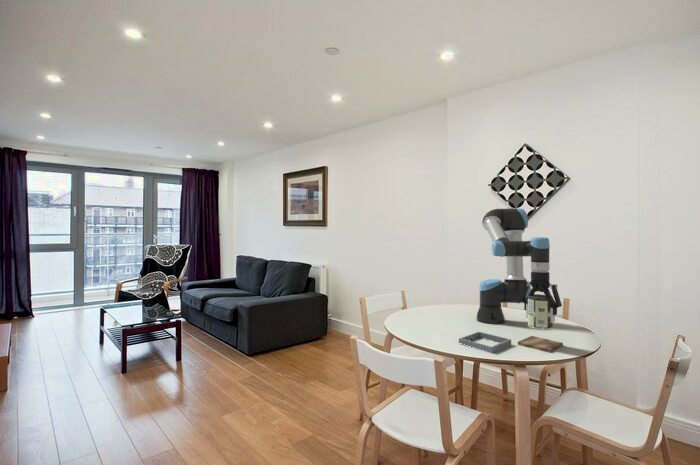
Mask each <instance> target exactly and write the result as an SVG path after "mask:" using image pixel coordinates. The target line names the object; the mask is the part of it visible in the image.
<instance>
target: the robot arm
mask: <svg viewBox="0 0 700 465" xmlns="http://www.w3.org/2000/svg"><path fill="white" fill-rule="evenodd" d="M481 222H482V227H483V228H484V230H485V231H487V233H488V234H489V237H490V239H491V241H492V243H491V254H492V255H493V256H494V257H501V258H502V257H506V277H504V278H503V280H504V281H502V280H501V279H499V278H497V279H494V278H492V279H491V278H490V279H486V280H482V281H480V283H479V289H478V290H479V308H478V311H477V314H476V321H478V322H480V323H484V324H494V325H500V324H504V323H506V322H505V320H506V318H505V315H504V311H503V309H502V304H504V303H505V304H507V303H509V304H523V306H524V307H523V308H524V311H526V312H525V318H526V319H528V295H530V296H532V295H534V294H536V292H540V293H543V295H546V297H547V298H553V299H551V300H550V304H551V305H552V308H551V323H553V324H554V323H555V322H556V316H557V315H558V308H561V307H562V306H563V304H562V302H561V298H560V295H559V291H558V285H557V284H552V283H551V282H550V247H551V244H550V239H549V237H542V236H541V237H537V236H536V237H531V238H530V240H523V234H524V233H525V229H527V228H528V226H529V224H528V223H529V218H528V215H527V212H526V210H525V209H523V208H517V207H514V208H512V207H511V208H495V209H491V210H489V211H488V212H486V213H485V215H484V216H483V217H482V221H481ZM524 257H530V270H531V271H530V281H527V278H526V277H525V276H524ZM549 288H550V289H551V291H552V294H551V292H550V290H549ZM552 295H553V296H552Z"/></svg>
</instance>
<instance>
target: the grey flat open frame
mask: <svg viewBox="0 0 700 465" xmlns="http://www.w3.org/2000/svg"><path fill="white" fill-rule="evenodd" d="M477 337H478V338H480V337H482V338H481V339H484V338H485V339H484V340H489V341H492V342H497V344H495V345H493V346H491V345H486V344H483V343H480V342H475V341H472V340H471V339H473V340H475V339H474V338H476V339H478V338H477ZM469 340H470V341H469ZM459 343H462V344H465V345H468V346H471V347H470V348H472V347H475V348H478V349H477V350H479V349H481V350H480V351H482V350H484V351H483V352H486V351H487V353H489V352H490V354H493V353H496V352H498V350H499V351H500V350H503V349H505V348H508V347H509V346H511V345H512V339H511V338H507V337H502V336H499V335H494V334H489V333H486V332H482V331H476V332H474V333H470V334H467V335H465V336H462V337H459V338H458V344H459ZM465 345H464V346H465ZM468 346H467V347H468ZM475 348H474V349H475Z"/></svg>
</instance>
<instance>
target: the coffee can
mask: <svg viewBox="0 0 700 465" xmlns="http://www.w3.org/2000/svg"><path fill="white" fill-rule="evenodd" d="M551 299H554V297H553V298H547V297H546V295H545V294H540V293H539V294H536V293H534V295H532V296H530V295H528V318H527V327H529V328H531V329H534V330H541V331H549V330H553V329H554V322H553V323H551V308H552V305H551V304H550V300H551Z"/></svg>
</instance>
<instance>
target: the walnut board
mask: <svg viewBox="0 0 700 465" xmlns="http://www.w3.org/2000/svg"><path fill="white" fill-rule="evenodd" d="M517 345H518V346H523V347H526V348H529V349H535V350H539V351H543V352H547V353H552V352H553V351H554V352H555V350H557V349H559V348H561V347H563V346H564V342H560V341H556V340H553V339H547V338H543V337H539V336H534V335H530V336H527V337H526V338H523V339H520V340H519V341H517Z"/></svg>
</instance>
